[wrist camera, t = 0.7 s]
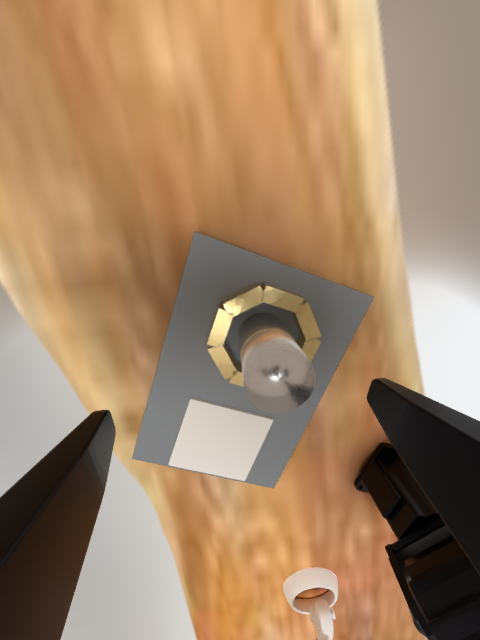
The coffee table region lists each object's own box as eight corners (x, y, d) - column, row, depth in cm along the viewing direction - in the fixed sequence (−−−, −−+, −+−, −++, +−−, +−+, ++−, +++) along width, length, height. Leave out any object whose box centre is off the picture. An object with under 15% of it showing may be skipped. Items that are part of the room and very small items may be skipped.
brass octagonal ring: (328, 304, 19) (336, 309, 18) (288, 389, 21) (292, 400, 20) (230, 270, 18) (230, 273, 16) (199, 364, 20) (196, 374, 19)
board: (366, 294, 20) (373, 297, 19) (272, 479, 26) (273, 488, 25) (196, 232, 18) (194, 231, 17) (135, 450, 24) (131, 458, 23)
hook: (253, 631, 26) (317, 683, 22) (292, 534, 36) (341, 558, 32) (259, 688, 27) (322, 747, 23) (295, 577, 37) (344, 606, 33)
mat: (273, 417, 22) (273, 420, 22) (244, 478, 24) (244, 481, 24) (190, 396, 21) (190, 398, 21) (168, 462, 23) (168, 465, 23)
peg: (293, 321, 19) (327, 361, 13) (275, 362, 20) (298, 419, 14) (247, 306, 19) (259, 340, 12) (231, 349, 20) (233, 403, 13)
